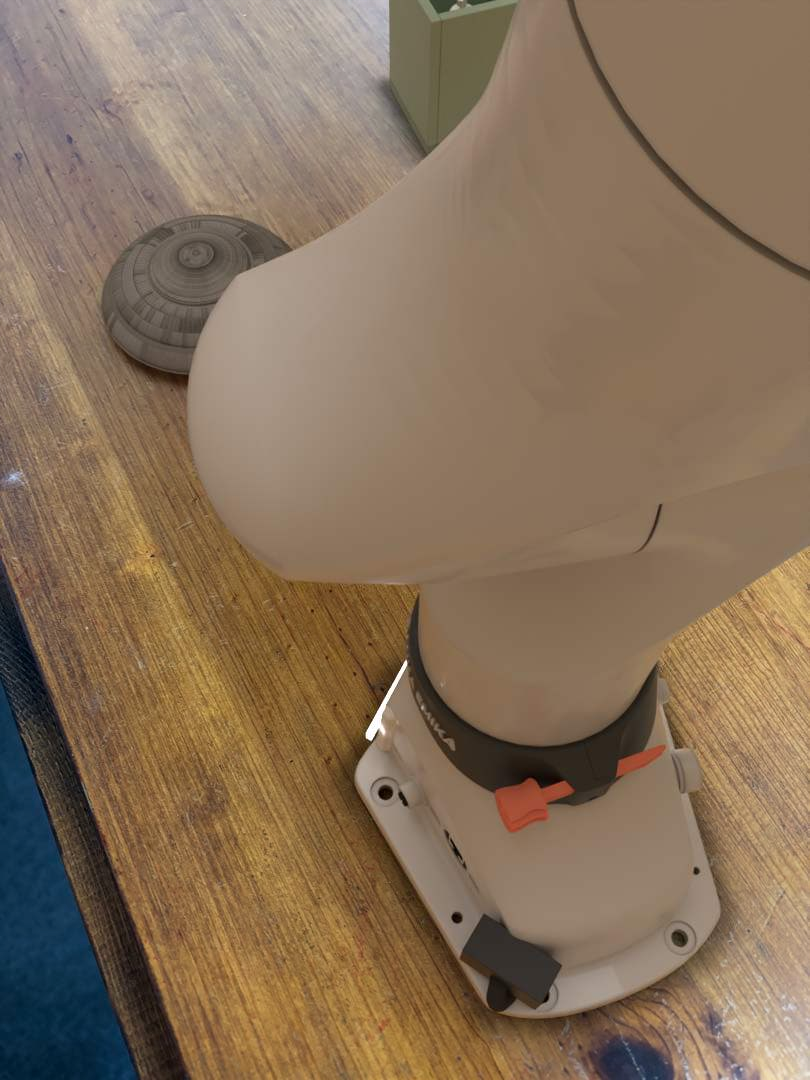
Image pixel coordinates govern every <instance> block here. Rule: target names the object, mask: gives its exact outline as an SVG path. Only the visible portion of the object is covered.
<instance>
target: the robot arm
mask: <svg viewBox="0 0 810 1080" xmlns="http://www.w3.org/2000/svg"><path fill="white" fill-rule="evenodd" d="M292 250H293V251H291V252H289V253H286V254H284V255H282V256H280V257H277V258H275V259H273V260H270V261H268V262H266V263H264V264H261V265H259V266H257V267H254V268H252V269H250V270H247V271H245V272H243V273H240V274H238V275H237V276H236V277H235V278H234V279H233V280H232V282H231V283H230V284H229V286H228V287H227V288H226V290H225V291H224V292H223V294H222V295H221V297H220V298H219V300H218V302H217V303H216V305H215V306H214V308H213V310H212V311H211V313H210V315H209V317H208V319H207V321H206V323H205V326H204V328H203V330H202V332H201V334H200V337H199V340H198V343H197V346H196V349H195V352H194V355H193V360H192V365H191V369H190V374H189V375H188V381H187V390H186V391H187V392H186V425H187V426H186V427H187V437H188V441H189V442H188V443H189V447H190V452H191V455H192V456H191V457H192V460H193V463H194V467H195V469H196V473H197V475H198V478H199V481H200V483H201V486H202V488H203V490H204V492H205V495H206V497H207V499H208V501H209V502H210V504H211V506H212V507H213V509H214V511H215V512H216V515H217V516H218V517H219V519H220V521H221V522H222V524H223V525H224V527H225V528H226V529H227V530H228V531H229V533H230V535H232V537H233V538H234V539H235V540H236V541H237V543H239V544H240V545H241V546H242V547H243V549H244V550H245V551H246V552H247V553H248V554H249V555H250V556H252V557H253V558H254V559H255V560H256V561H258V562H259V563H260V564H261V565H262V566H264V567H265V568H266V569H267V570H268V571H270V572H272V573H273V574H275V575H277V576H278V577H279V578H281V579H282V580H284V581H287V582H303V583H305V582H306V583H320V584H321V583H322V584H345V585H346V584H347V585H349V584H350V585H389V586H390V585H391V586H392V585H394V586H396V585H398V586H399V585H401V586H407V585H408V586H409V585H410V586H412V585H414V586H415V585H416V586H418V585H419V591H418V594H417V596H416V598H415V601H414V605H413V607H412V610H411V612H410V616H409V620H408V623H407V629H406V630H407V631H406V637H405V661H404V663H403V665H402V667H401V669H400V671H399V672H398V674H397V676H396V678H395V680H394V682H393V683H392V685H391V687H390V688H389V690H388V692H387V694H386V696H385V698H384V699H383V701H382V703H381V705H380V707H379V709H378V710H377V712H376V714H375V716H374V718H373V719H372V722H371V723H370V725H369V727H368V729H367V730H366V732H365V738H366V739H368V740H369V741H372V740H373V738H374V737H375V734H376V733H377V735H376V737H375V738H374V740H373V742H372V743H371V744H370V745H369V746H368V748H367V749H366V751H364V753H363V755H362V757H361V758H360V759H359V761H358V763H357V766H356V768H355V771H354V777H353V783H354V787H355V789H356V792H357V794H358V795H359V797H360V799H361V800H362V802H363V804H364V805H365V807H366V809H367V810H368V812H369V814H370V816H371V817H372V820H374V822H375V825H376V826H377V828H378V829H379V831H380V833H381V834H382V836H383V837H384V839H385V841H386V843H387V844H388V846H389V848H390V849H391V851H392V853H393V855H394V856H395V858H396V860H397V861H398V863H399V865H400V866H401V867H402V870H403V871H404V873H405V875H406V877H407V878H408V880H409V881H410V883H411V885H412V887H413V888H414V890H415V892H416V893H417V895H418V897H419V898H420V900H421V902H422V903H423V905H424V907H425V909H426V910H427V912H428V913H429V915H430V917H431V919H432V921H433V922H434V924H435V926H436V927H437V929H438V930H439V933H440V934H441V936H442V938H443V939H444V941H445V942H446V944H447V946H448V948H449V949H450V951H451V953H452V954H453V956H454V958H455V959H456V961H457V962H458V965H459V966H460V968H461V970H462V972H464V974H465V976H466V978H467V980H468V982H469V983H470V985H471V986H472V988H473V989H474V991H475V993H476V994H477V997H478V998H479V999H480V1000H481V1001H482V1003H483V1005H484V1006H485V1007H486V1008H487V1009H488V1010H490V1011H491V1012H493V1013H497V1014H501V1015H504V1016H509V1017H513V1018H519V1019H532V1020H537V1019H538V1020H539V1019H555V1018H562V1017H568V1016H573V1015H577V1014H581V1013H584V1012H589V1011H592V1010H595V1009H598V1008H601V1007H604V1006H607V1005H610V1004H612V1003H615V1002H617V1001H620V1000H623V999H626V998H628V997H629V996H632V995H634V994H636V993H638V992H641V991H642V990H645V989H646V988H649V987H651V986H652V985H654V984H656V983H657V982H659V981H661V980H663V979H665V978H666V977H668V976H669V975H671V974H672V973H674V972H675V971H676V970H677V969H679V968H680V967H682V966H683V965H684V964H685V963H687V961H689V960H690V959H691V958H692V957H693V956H694V955H695V954H697V952H698V951H699V950H700V948H702V946H703V945H704V944H705V942H706V941H707V940H708V938H709V937H710V936H711V934H712V933H713V931H714V929H715V927H716V926H717V924H718V922H719V920H720V918H721V913H722V907H721V903H720V899H719V894H718V891H717V886H716V883H715V880H714V878H713V874H712V870H711V867H710V863H709V860H708V856H707V854H706V850H705V847H704V846H705V845H704V843H703V839H702V836H701V833H700V829H699V826H698V823H697V819H696V816H695V811H694V809H693V805H692V801H691V797H690V795H689V793H694V792H698V791H699V790H700V789H702V788H703V783H704V777H703V771H702V766H701V762H700V760H699V757H698V755H697V753H696V752H695V751H694V749H692V748H689V747H682V748H676V746H675V744H674V740H673V736H672V734H671V729H670V726H669V722H668V719H667V716H666V713H665V709H664V706H663V705H665V704H668V703H669V702H670V701H671V690H670V685H669V683H668V681H667V680H666V679H665V677H660V673H661V672H660V666H661V665H660V658H661V656H662V655H663V653H664V652H665V650H666V649H667V647H668V646H669V644H670V643H671V642H672V641H673V640H674V639H675V638H677V637H678V636H679V635H680V634H681V633H683V632H685V630H687V629H689V627H691V626H693V625H694V624H695V623H697V622H699V621H700V620H701V619H702V618H704V617H706V616H707V615H708V614H710V613H712V612H713V611H714V610H716V609H717V608H719V607H720V606H722V605H723V604H724V603H726V602H727V601H729V600H731V599H732V598H734V597H735V596H736V595H738V594H739V593H740V592H742V591H744V590H745V589H746V588H748V587H750V586H751V585H752V584H754V583H756V582H757V581H759V580H760V579H761V578H763V577H764V576H766V575H768V574H769V573H770V572H772V571H773V570H775V569H776V568H778V567H779V566H780V565H782V564H784V563H785V562H787V561H788V560H789V559H792V558H793V557H794V556H795V555H797V554H799V553H800V552H801V551H804V550H805V549H806V548H809V547H810V0H518V2H517V5H516V8H515V11H514V14H513V17H512V20H511V23H510V26H509V29H508V32H507V35H506V38H505V40H504V43H503V46H502V49H501V51H500V54H499V57H498V60H497V62H496V65H495V68H494V71H493V73H492V76H491V79H490V82H489V84H488V86H487V88H486V90H485V92H484V93H483V95H482V97H481V98H480V100H479V101H478V102H477V104H476V105H475V106H474V108H473V109H472V110H471V111H470V113H469V114H468V115H467V116H466V117H465V118H464V119H463V120H462V121H461V123H460V124H459V125H458V126H457V127H456V128H455V129H454V130H453V131H452V132H451V133H450V134H449V135H448V136H447V137H446V138H445V139H444V140H443V141H442V142H441V143H440V144H439V145H438V146H437V147H436V148H435V149H434V150H433V151H432V152H431V153H430V154H429V155H428V156H427V155H426V157H424V158H423V159H422V160H421V161H420V162H419V163H418V164H417V165H416V166H414V167H413V168H412V169H410V171H409V172H408V173H407V174H406V175H404V176H403V177H402V178H401V179H400V180H399V181H397V182H396V183H394V185H393V186H391V187H390V188H389V189H388V190H387V191H386V192H384V193H383V194H382V195H380V196H379V197H378V198H376V199H375V200H374V201H372V203H370V204H369V205H367V206H366V207H365V208H363V209H362V210H361V211H359V212H358V213H355V214H354V215H353V216H352V217H350V218H348V219H347V220H346V221H344V222H342V223H341V224H339V225H338V226H336V227H334V228H333V229H331V230H329V231H327V232H325V233H324V234H322V235H320V236H319V237H317V238H315V239H313V240H311V241H309V242H307V243H306V244H304V245H302V246H300V247H298V248H296V249H292ZM385 789H387V790H390V791H391V793H392V796H391V797H390V798H389V799H382V798H381V797H380V795H379V793H380V792H381V791H382V790H385ZM454 916H459V918H461V922H458V923H456V922H454V920H453V917H454ZM673 933H679V934H680V935H681V936H682V937H683V939H684V945H683V946H678V945H676V944H675V943H674V941H673V938H672V937H673ZM546 997H547V1000H546V1002H544V1001H545V999H546Z"/></svg>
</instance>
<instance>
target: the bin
mask: <svg viewBox="0 0 810 1080" xmlns="http://www.w3.org/2000/svg"><path fill="white" fill-rule="evenodd" d="M517 2H518V0H467V4H470V5H472V6H470V7H465V8H461V9H457V10H452V11H450V9H451V7H452V6H453V5H455V4H457V0H388V32H389V33H388V37H389V39H388V42H389V44H388V45H389V53H388V54H389V89H390V91H391V93H392V95H393V96H394V99H395V100H396V102H397V104H398V105H399V107H400V109H401V111H402V113H403V115H404V116H405V119H406V121H407V123H408V124H409V126H410V128H411V130H412V131H413V133H414V135H415V136H416V139H417V140H418V141H419V143H420V145H421V147H422V150H423V151H424V152H425V154H426V157H427V156H428V155H429V154H430V153H431V152H432V151H433V150H434V149H435V148H436V147H437V146H438V145H439V144H440V143H441V142H442V141H443V140H444V139H445V138H446V137H447V136H448V135H449V134H450V133H451V132H452V131H453V130H454V129H455V128H456V127H457V126H458V125H459V124H460V123H461V121H462V120H463V119H464V118H465V117H466V116H467V115H468V114H469V113H470V111H471V110H472V109H473V108H474V106H475V105H476V104H477V102H478V101H479V100H480V98H481V97H482V95H483V93H484V92H485V90H486V88H487V86H488V84H489V82H490V79H491V76H492V73H493V71H494V68H495V65H496V62H497V60H498V57H499V54H500V51H501V49H502V46H503V43H504V40H505V38H506V35H507V32H508V29H509V26H510V23H511V20H512V17H513V14H514V11H515V8H516V5H517Z"/></svg>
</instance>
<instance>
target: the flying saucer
mask: <svg viewBox="0 0 810 1080" xmlns="http://www.w3.org/2000/svg"><path fill="white" fill-rule="evenodd" d="M293 250H294V249H293V248H292V247H291V246H290V245H289V244H288V243H286V241H285V240H284V239H282V238H281V237H280V236H278V235H277V234H276V233H275V232H273V231H271V230H270V229H267V228H266V227H264V226H262V225H260V224H258V223H255V222H253V221H250V220H248V219H245V218H241V217H236V216H232V215H226V214H225V215H224V214H209V213H208V214H207V213H206V214H195V215H188V216H183V217H179V218H175V219H172V220H169V221H166V222H164V223H162V224H160V225H157V226H155V227H153V228H151V229H149V230H148V231H146V232H145V233H143V234H141V235H140V236H139V237H137V238H136V239H135V240H134V241H132V242H131V243H130V244H129V245H127V247H126V248H125V249H124V250H123V251H122V253H121V254H120V255H119V256H118V257H117V259H116V260H115V262H114V263H113V264H112V266H111V268H110V270H109V272H108V273H107V276H106V279H105V281H104V285H103V288H102V292H101V303H100V304H101V305H100V306H101V314H102V319H103V322H104V325H105V327H106V329H107V331H108V333H109V335H110V337H111V338H112V339H113V341H114V342H115V344H116V345H118V346H119V348H120V349H122V350H123V351H124V352H125V353H126V354H127V355H129V356H130V357H132V358H133V359H135V360H136V361H139V362H140V363H141V364H144V365H146V366H148V367H150V368H153V369H156V370H159V371H163V372H167V373H170V374H171V373H172V374H178V375H188V376H189V374H190V369H191V365H192V360H193V355H194V352H195V349H196V346H197V343H198V340H199V337H200V334H201V332H202V330H203V328H204V326H205V323H206V321H207V319H208V317H209V315H210V313H211V311H212V310H213V308H214V306H215V305H216V303H217V302H218V300H219V298H220V297H221V295H222V294H223V292H224V291H225V290H226V288H227V287H228V286H229V284H230V283H231V282H232V280H233V279H234V278H235V277H236V276H237V275H238V274H240V273H243V272H245V271H247V270H250V269H252V268H254V267H257V266H259V265H261V264H264V263H266V262H268V261H270V260H273V259H275V258H277V257H280V256H282V255H284V254H286V253H289V252H291V251H293Z"/></svg>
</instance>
